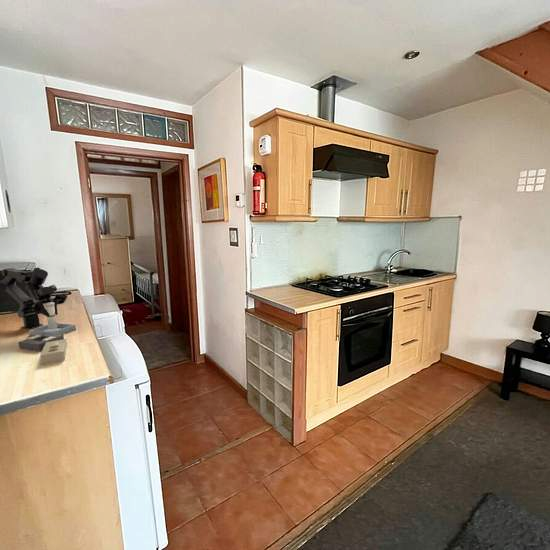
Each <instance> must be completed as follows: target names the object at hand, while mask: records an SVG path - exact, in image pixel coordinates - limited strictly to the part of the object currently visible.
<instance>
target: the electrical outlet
mask: <svg viewBox="0 0 550 550" xmlns="http://www.w3.org/2000/svg"><path fill="white" fill-rule="evenodd" d="M67 347H68V341H67V338H64V339H63V340H57V341H52V342H46V343H45V346H44V347H43V350H42V351H40V352H41V353H40V357H39V359H40V365H41V364H44V365H48V364H47V363H49V364H52V362H54V363H57V362H56V361H59V362H63V361H62V360H64V361H65V360H66V356H65V355H67V350H68V348H67ZM66 349H67V350H66Z"/></svg>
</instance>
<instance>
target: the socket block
mask: <svg viewBox="0 0 550 550" xmlns="http://www.w3.org/2000/svg"><path fill="white" fill-rule="evenodd" d="M64 335H65V334H62V335H58V334H48V333H43V334H40V335H36V336H30V337H28V338H25V339H24V340H21V341H18V348H20V349H19V350H25V349H28V350H27V351H33V350H36V351H35V352H42V351H41V350H43V347H44V346H45V343H46V342H52V341H57V340H63V339H65V338H64Z"/></svg>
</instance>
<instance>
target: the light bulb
mask: <svg viewBox="0 0 550 550" xmlns="http://www.w3.org/2000/svg"><path fill="white" fill-rule="evenodd" d="M54 305H55V304H54V302H48V303H45V304H44V307H45V309H46V310H47V312H48V313H49V317H47V316H46V318H47V324H48V329H55V328H57V324H56V323H57V317H56V316H57V315H56V314H55V308H54Z"/></svg>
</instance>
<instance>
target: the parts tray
mask: <svg viewBox="0 0 550 550" xmlns="http://www.w3.org/2000/svg"><path fill="white" fill-rule="evenodd" d="M56 324H57V328H55V329H48V323H47V324H43V325H41V326H38V327H35V328H32V329H28V331H29V336H30V337H33V336H36V335H40V334H43V333H48V334H58V335H65V334H67V333H70V332H72V330H73V331H74V330H77V326H76V324H75V323H73V324H72V323H62V322H56ZM64 333H65V334H64Z"/></svg>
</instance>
